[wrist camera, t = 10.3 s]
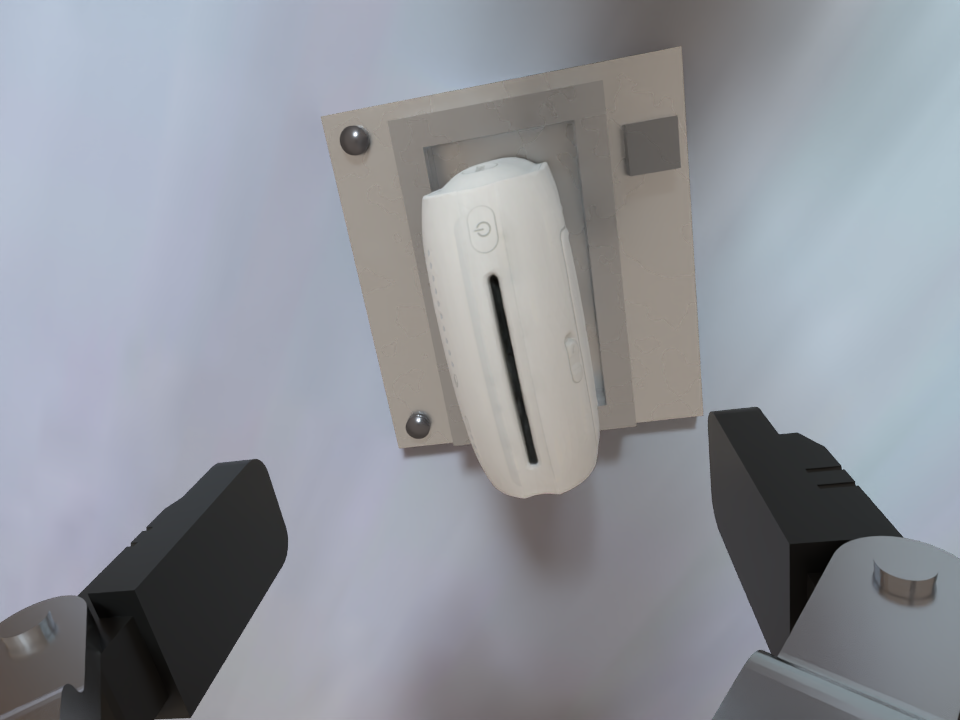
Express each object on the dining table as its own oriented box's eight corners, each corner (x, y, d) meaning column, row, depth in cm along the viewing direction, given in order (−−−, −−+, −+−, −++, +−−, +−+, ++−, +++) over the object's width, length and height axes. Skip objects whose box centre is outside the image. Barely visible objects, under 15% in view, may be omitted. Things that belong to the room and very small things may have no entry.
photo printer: (453, 166, 27) (381, 188, 15) (552, 143, 26) (556, 148, 14) (502, 384, 30) (473, 541, 18) (591, 369, 29) (620, 523, 18)
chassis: (328, 117, 27) (303, 114, 25) (676, 49, 25) (692, 38, 22) (403, 439, 33) (389, 468, 30) (698, 407, 30) (713, 434, 27)
